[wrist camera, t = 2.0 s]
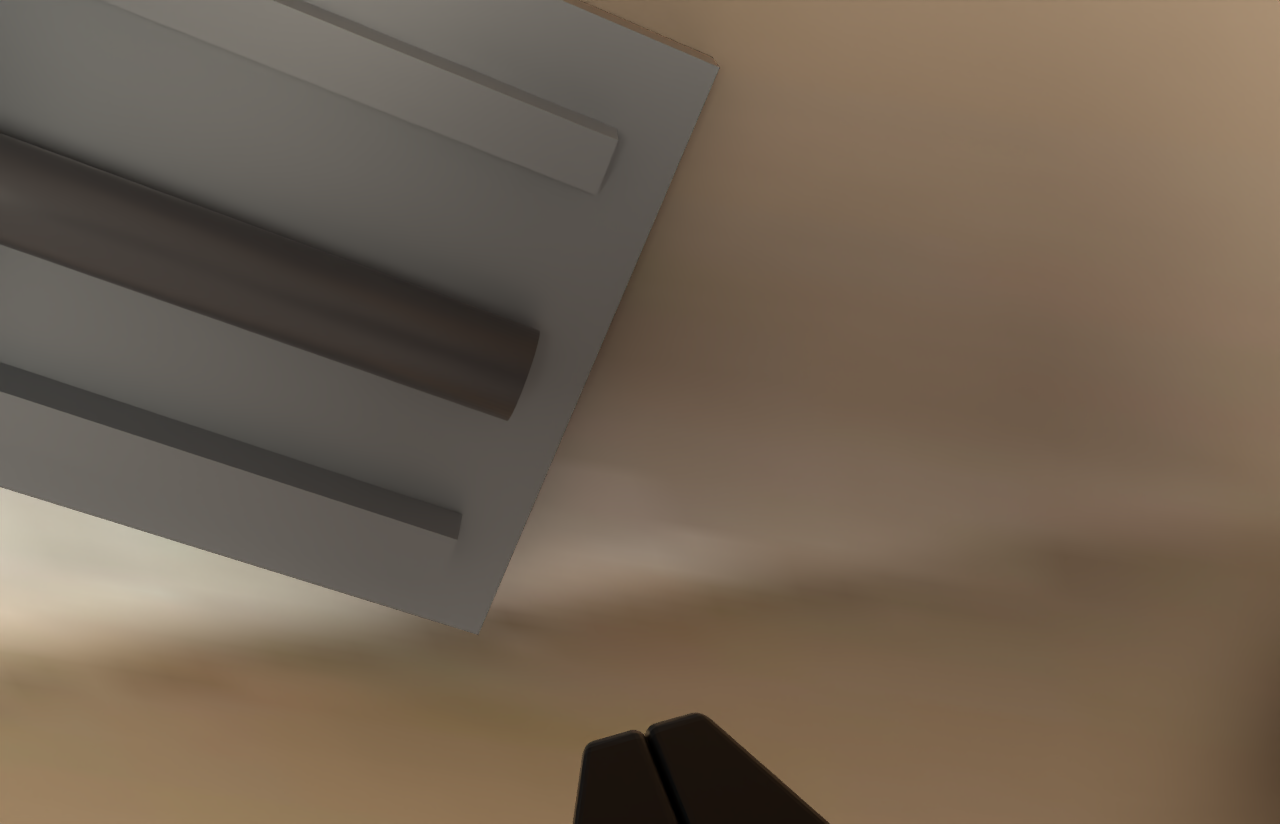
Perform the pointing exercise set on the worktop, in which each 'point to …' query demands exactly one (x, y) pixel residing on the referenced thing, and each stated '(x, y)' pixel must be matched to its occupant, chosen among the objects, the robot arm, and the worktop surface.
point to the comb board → (321, 268)
